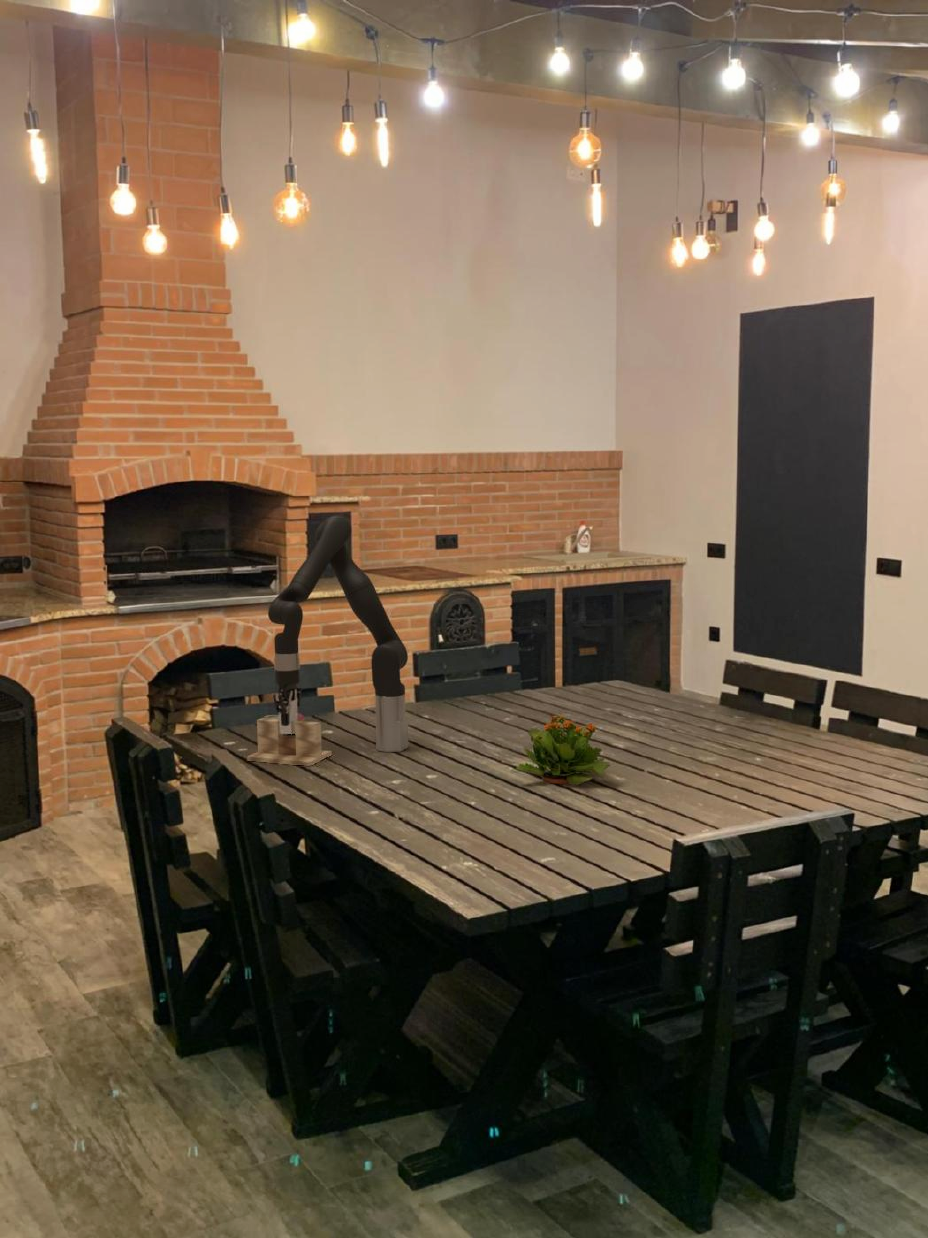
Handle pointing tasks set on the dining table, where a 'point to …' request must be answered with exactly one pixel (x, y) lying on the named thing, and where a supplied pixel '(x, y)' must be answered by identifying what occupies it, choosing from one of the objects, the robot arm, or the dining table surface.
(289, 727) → the grey square bottle
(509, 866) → the dining table surface
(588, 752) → the potted flower
